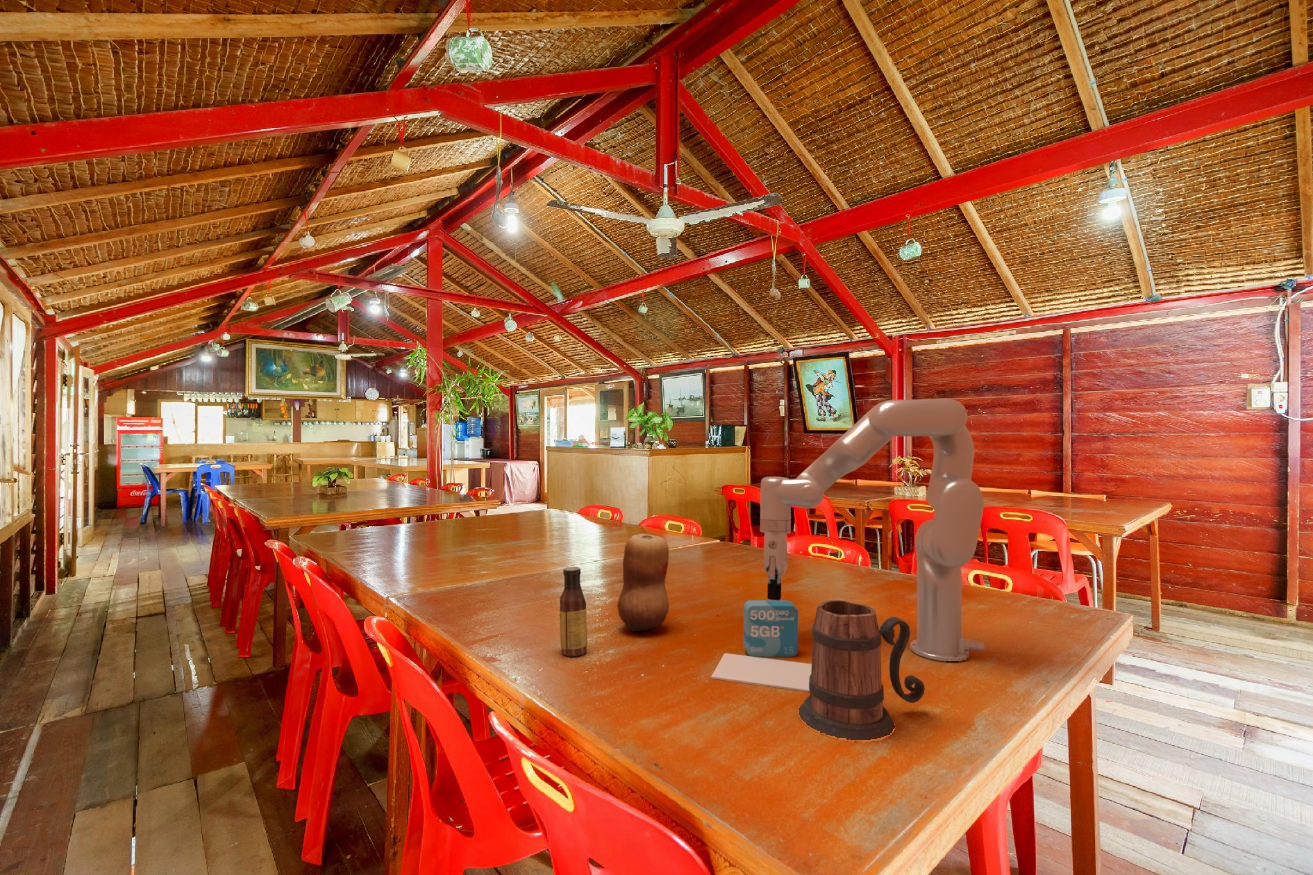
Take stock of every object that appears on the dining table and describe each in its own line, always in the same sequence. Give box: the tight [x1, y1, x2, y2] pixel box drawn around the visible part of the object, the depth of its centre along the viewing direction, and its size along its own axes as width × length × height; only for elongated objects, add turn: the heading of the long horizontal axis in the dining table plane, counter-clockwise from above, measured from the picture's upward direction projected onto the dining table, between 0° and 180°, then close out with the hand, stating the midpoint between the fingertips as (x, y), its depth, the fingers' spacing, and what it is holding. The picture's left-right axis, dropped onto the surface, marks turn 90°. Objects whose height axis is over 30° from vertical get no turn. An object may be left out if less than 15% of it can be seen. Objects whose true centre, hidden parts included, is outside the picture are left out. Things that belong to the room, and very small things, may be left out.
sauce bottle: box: [559, 566, 588, 657], centre depth 134 cm, size 6×6×20 cm
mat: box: [711, 652, 812, 693], centre depth 123 cm, size 20×14×1 cm
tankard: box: [798, 599, 925, 740], centre depth 104 cm, size 24×17×20 cm
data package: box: [743, 599, 799, 658], centre depth 134 cm, size 12×4×12 cm, turn 90°
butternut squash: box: [616, 533, 670, 632], centre depth 151 cm, size 14×13×25 cm
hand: (774, 598), depth 143 cm, fingers closed
